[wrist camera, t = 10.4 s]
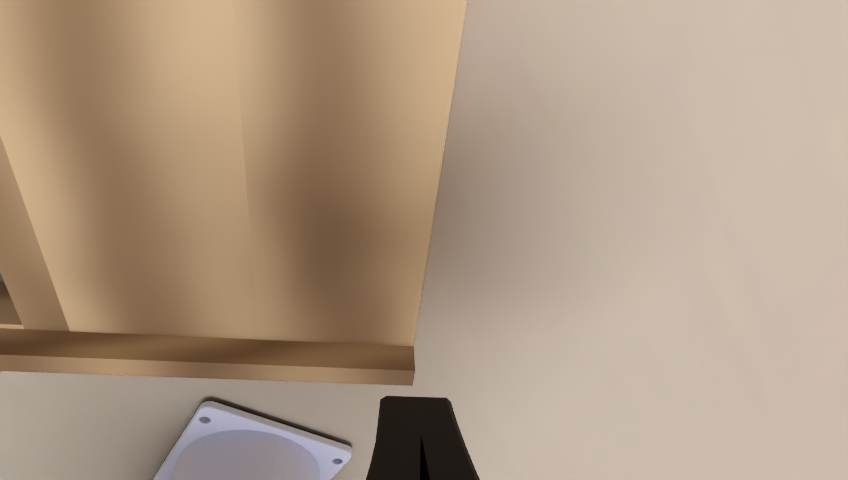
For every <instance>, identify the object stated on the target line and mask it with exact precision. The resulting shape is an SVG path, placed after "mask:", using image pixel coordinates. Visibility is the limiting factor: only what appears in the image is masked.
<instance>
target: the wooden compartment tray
mask: <svg viewBox="0 0 848 480" xmlns="http://www.w3.org/2000/svg"><path fill="white" fill-rule="evenodd" d="M466 6H467V0H0V371H20V372H48V373H76V374H104V375H132V376H160V377H188V378H216V379H244V380H272V381H300V382H328V383H356V384H384V385H413V379H414V373H415V364H414V340H415V334H416V327H417V321H418V315H419V308H420V302H421V295H422V289H423V282H424V276H425V270H426V263H427V257H428V250H429V244H430V237H431V231H432V224H433V218H434V212H435V205H436V199H437V192H438V186H439V179H440V173H441V167H442V160H443V154H444V147H445V141H446V134H447V128H448V121H449V115H450V109H451V102H452V96H453V89H454V83H455V76H456V70H457V64H458V57H459V51H460V44H461V38H462V31H463V25H464V18H465V12H466Z"/></svg>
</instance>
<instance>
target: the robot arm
mask: <svg viewBox="0 0 848 480" xmlns="http://www.w3.org/2000/svg"><path fill="white" fill-rule="evenodd" d="M351 457H352V448H351V447H350V446H348V445H345V444H342V443H339V442H336V441H333V440H330V439H327V438H324V437H321V436H318V435H315V434H312V433H309V432H306V431H303V430H299V429H296V428H293V427H290V426H287V425H284V424H281V423H278V422H275V421H272V420H269V419H266V418H263V417H260V416H257V415H254V414H250V413H247V412H244V411H241V410H238V409H235V408H232V407H229V406H226V405H223V404H220V403H217V402H213V401H206V402H203V403H202V404H201V405H200V406H199V408H198V409H197V411H196V413H195V414H194V416H193V417H192V419H191V420H190V422H189V423H188V425H187V427H186V428H185V430H184V431H183V433H182V434H181V436H180V437H179V439H178V441H177V442H176V444H175V445H174V447H173V448H172V450H171V452H170V453H169V455H168V456H167V458H166V459H165V461H164V462H163V464H162V466H161V467H160V469H159V470H158V472H157V473H156V475H155V476H154V478H153V480H331V479H332V478H333V477H334V476H335V474H336V473H337V472H338V471H339V470H340V469H341V468H342V467H343V466H344V465H345V464H346V463H347V462H348V461H349V460H350V459H351ZM366 480H480V479H479V477H478V475H477V472H476V470H475V468H474V465H473V463H472V460H471V458H470V455H469V453H468V451H467V448H466V446H465V443H464V440H463V438H462V435H461V432H460V429H459V427H458V424H457V421H456V418H455V415H454V411H453V408H452V405H451V402H450V401H449V400H448V399H447V398H431V397H401V396H386V397H384V398H382V399H381V400H380V409H379V418H378V426H377V435H376V443H375V447H374V451H373V456H372V460H371V464H370V468H369V471H368V475H367V478H366Z"/></svg>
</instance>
